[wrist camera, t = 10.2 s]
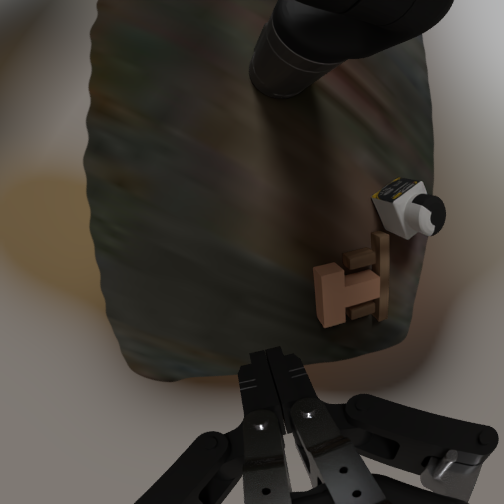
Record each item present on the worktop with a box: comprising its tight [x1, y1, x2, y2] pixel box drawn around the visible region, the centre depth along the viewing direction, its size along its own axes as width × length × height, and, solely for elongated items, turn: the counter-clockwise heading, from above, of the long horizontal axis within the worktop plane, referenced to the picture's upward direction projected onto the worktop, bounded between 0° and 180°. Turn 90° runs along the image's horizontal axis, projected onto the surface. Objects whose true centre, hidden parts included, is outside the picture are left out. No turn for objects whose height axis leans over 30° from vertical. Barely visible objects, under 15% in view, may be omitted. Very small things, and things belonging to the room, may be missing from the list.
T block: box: [313, 262, 380, 328], centre depth 47 cm, size 10×11×4 cm
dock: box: [342, 231, 389, 321], centre depth 48 cm, size 17×8×3 cm, turn 10°
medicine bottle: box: [371, 178, 446, 240], centre depth 40 cm, size 7×7×12 cm
